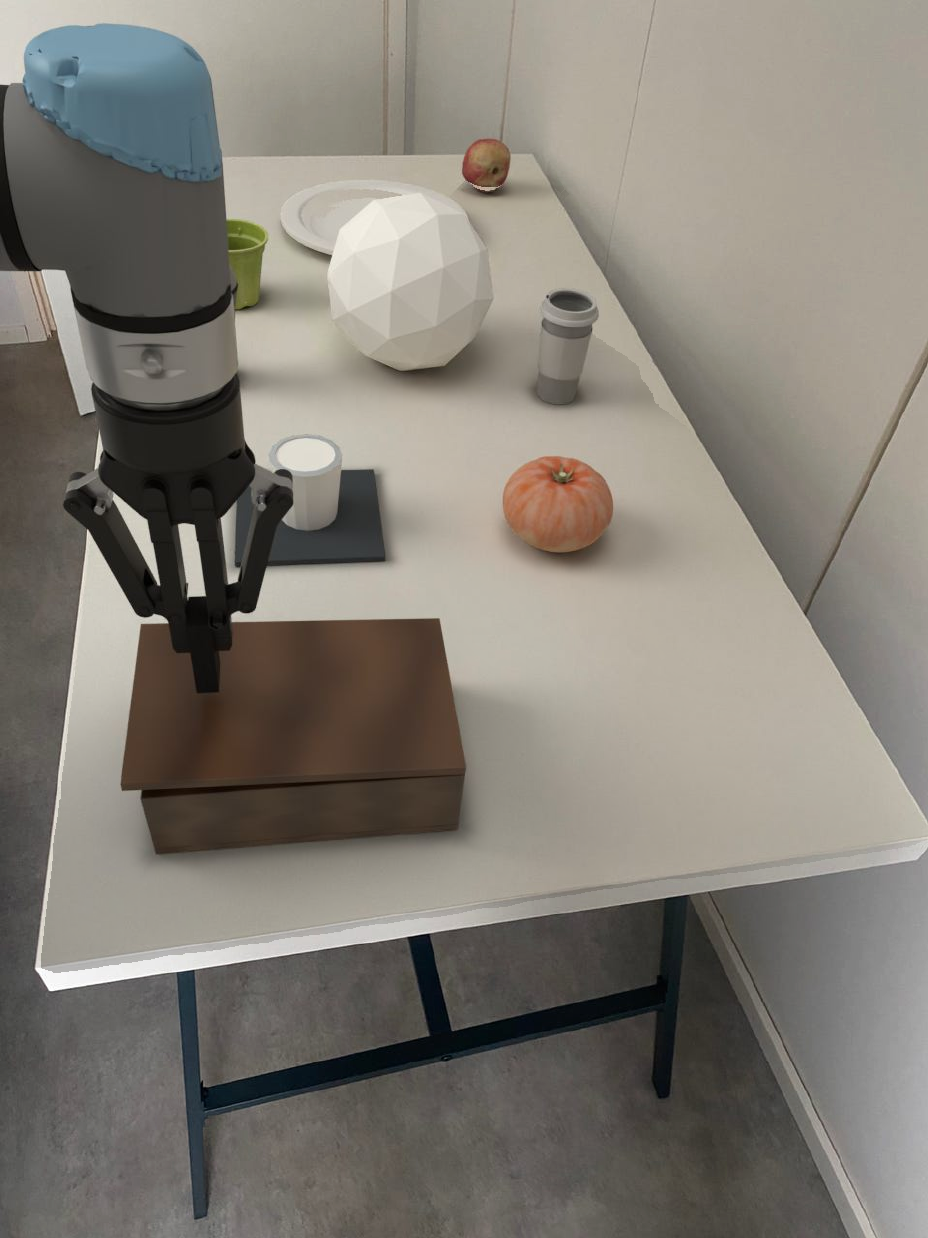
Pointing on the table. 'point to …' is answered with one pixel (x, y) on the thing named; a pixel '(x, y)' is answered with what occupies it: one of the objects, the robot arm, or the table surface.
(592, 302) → the cup
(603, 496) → the tomato
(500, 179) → the fruit
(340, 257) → the ball
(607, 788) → the table surface
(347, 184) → the plate
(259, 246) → the plant pot
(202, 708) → the chest lid
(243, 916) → the table surface
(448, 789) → the chest
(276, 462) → the white grey-rimmed cylinder
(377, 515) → the drying mat
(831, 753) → the table surface
